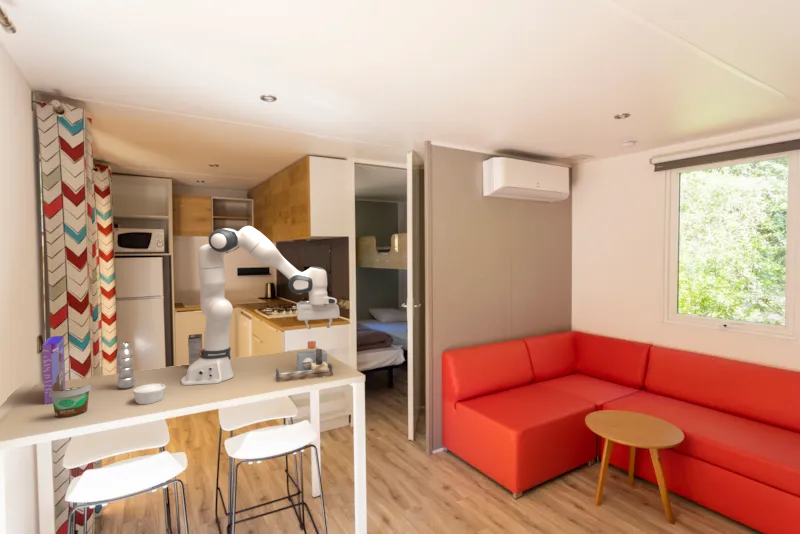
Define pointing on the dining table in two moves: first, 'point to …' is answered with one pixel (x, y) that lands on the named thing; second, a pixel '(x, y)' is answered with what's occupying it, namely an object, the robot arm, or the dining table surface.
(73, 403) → the food container
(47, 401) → the cereal box
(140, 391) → the ramekin
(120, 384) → the plastic bottle
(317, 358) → the carriage
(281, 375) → the rail
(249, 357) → the dining table surface
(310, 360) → the gauge cabinet
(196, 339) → the coffee box
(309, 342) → the button
